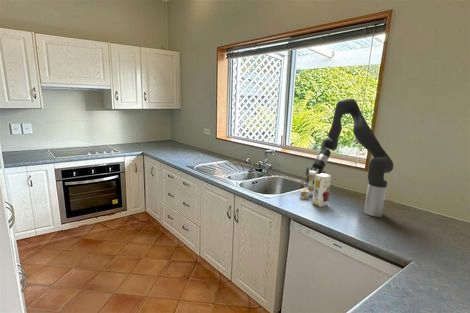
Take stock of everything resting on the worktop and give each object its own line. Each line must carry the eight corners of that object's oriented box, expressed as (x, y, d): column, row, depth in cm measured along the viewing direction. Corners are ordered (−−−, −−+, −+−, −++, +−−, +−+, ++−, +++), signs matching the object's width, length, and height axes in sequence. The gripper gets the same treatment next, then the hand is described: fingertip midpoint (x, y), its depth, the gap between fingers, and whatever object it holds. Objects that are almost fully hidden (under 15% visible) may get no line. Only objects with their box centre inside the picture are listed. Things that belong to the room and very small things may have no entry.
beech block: (307, 197, 174) (308, 189, 173) (308, 199, 169) (309, 192, 168) (300, 196, 175) (300, 188, 174) (300, 198, 170) (301, 191, 169)
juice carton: (310, 203, 162) (313, 174, 158) (319, 201, 167) (322, 172, 163) (320, 208, 156) (323, 177, 152) (329, 205, 161) (333, 175, 157)
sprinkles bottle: (306, 189, 179) (308, 170, 176) (312, 189, 180) (314, 170, 177) (308, 191, 175) (310, 172, 172) (315, 191, 175) (317, 172, 172)
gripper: (309, 157, 183) (299, 177, 177) (329, 160, 173) (319, 182, 167) (312, 163, 188) (302, 183, 182) (331, 167, 178) (321, 188, 172)
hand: (310, 182), depth 175 cm, fingers closed on sprinkles bottle, 4 cm apart
